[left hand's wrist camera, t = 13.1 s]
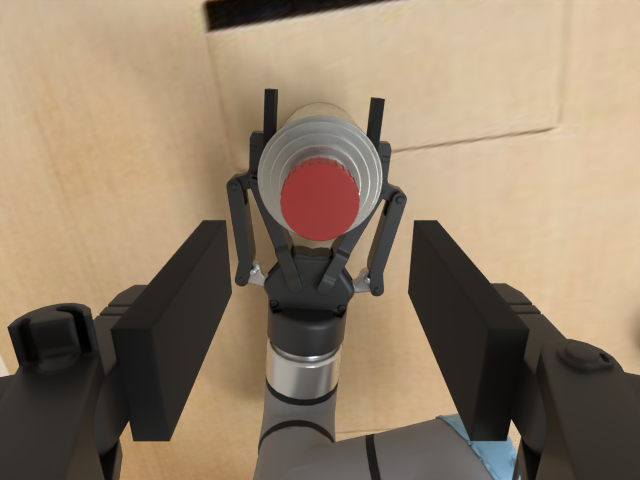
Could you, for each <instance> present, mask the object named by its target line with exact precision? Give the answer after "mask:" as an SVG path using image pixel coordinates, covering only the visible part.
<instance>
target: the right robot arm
mask: <svg viewBox="0 0 640 480" xmlns="http://www.w3.org/2000/svg"><path fill="white" fill-rule="evenodd" d="M277 102H278V89H265V100H264V131H254V132H253V133H252V135H251V137H250V162H249V171H247V172H244V173H241V174H235V175H234V176H233V177H232V178H231V179H230V180H229V181H228V183H227V193H228V199H229V206H230V212H231V218H232V224H233V230H234V236H235V243H236V249H237V255H238V261H239V263H238V268H237V272H236V277H235V282H236V284H237V285H239V286H245V285H247V283H252V284H256V285H260V286H264V289H265V291H266V293H267V295H268V298H269V306H268V330H267V333H268V340H267V353H266V390H265V403H264V415H263V422H262V428H261V433H260V439H259V446H258V459H257V464H256V469H255V473H254V478H253V480H512V476H513V471H514V466H515V462H516V457H517V455H516V451H515V449H514V446H513V444H512V442H511V440H510V438H509V435H508V437H507V441H470V439H469V437H468V435H467V432H466V430H465V427H464V425H463V423H462V420H461V418H460V415H459V414H453V415H446V416H441V415H440V416H438V417H436V418H435V419H433V420H429V421H425V422H421V423H417V424H413V425H409V426H405V427H401V428H397V429H393V430H389V431H385V432H381V433H377V434H370V435H365V436H360V437H356V438H352V439H347V440H343V441H338V442H335V406H336V394H337V386H338V379H339V374H340V365H341V356H342V346H343V345H342V341H343V338H344V331H345V322H346V314H347V306H348V303H349V301H350V299H351V298H352V297H353V295H354V293H361V292H371V293H372V295H374V296H380V295H382V294H383V292H384V284H383V271H384V268H385V265H386V262H387V259H388V256H389V253H390V250H391V247H392V244H393V241H394V238H395V235H396V232H397V229H398V226H399V223H400V220H401V217H402V214H403V211H404V207H405V204H406V201H407V198H406V195H405V194H404V193H403V191H402V190H401V189H400V188H399V187H397V186H394V185H391V184H389V183H388V181H387V177H388V170H389V162H390V156H391V147H390V144H389V143H388V142H387V141H380V133H381V125H382V117H383V110H384V102H385V99H381V98H372V97H371V102H370V111H369V119H368V128H367V137H368V138H369V139H370V141H371V142H372V144H373V145H374V147H375V149H376V151H377V153H378V156H379V159H380V162H381V167H382V187H381V192H380V195H379V198H378V201H377V203H376V205H375V207H374V209H373V210H372V211H371V213H370V214H369V216H368V217H367V218H366V219H365V220H364V221H363V222H362V223H361V224H359V225H358V226H357V227H355V228H354V229H352V230H351V231H349V232H347V233H345V234H342V235H340V236H338V238H337V239H336V240H335V241H334V242H333V244H332V246H331V248H330V250H329V248H322V247H321V248H315V249H311V248H308V247H305V246H296V248H295V246H294V243H293V240H292V238H291V236H290V235H289V232H288V230H287V229H286V228H285V227H283V226H282V225H280V224H279V223H278V222H277V221H276V220H275V219H274V218H273V217H272V215H271V214H270V213H269V212H268V210H267V208H266V207H265V205H264V203H263V201H262V198H261V195H260V192H259V187H258V166H259V162H260V158H261V156H262V153H263V151H264V149H265V147H266V145H267V143H268V142H269V141H270V139H271V138H272V137H273V136H274V135H275V133H276V126H277ZM250 188H251V190H252V193H253V195H254V198H255V200H256V203H257V205H258V208H259V210H260V213H261V215H262V218H263V220H264V223H265V225H266V228H267V230H268V233H269V235H270V238H271V240H272V243H273V245H274V248H275V253H276V257H277V259H278V262H277V263H276V264H275V265H274V266H273V268H272V269H271V270H270V271H269V272H268V273H266V272H264V271H263V270H262V264H261V262H260V261H259V260H256V259H255V255H256V249H255V241H254V234H253V227H252V220H251V213H250V206H249V199H248V192H247V189H250ZM382 199H384V200H386V201H385V204H384V207H383V210H382V213H381V217H380V220H379V223H378V226H377V230H376V233H375V236H374V239H373V242H372V246H371V249H370V252H369V255H368V260H367V268H363V269H362V270H361V271H360V274H359V276H358V278H356V279H352V278H351V276H350V274H349V273H348V271H347V270H346V268H345V267H344V266H345V265H346V263H347V261H348V259H349V256H350V253H351V251H352V250H353V248H354V246H355V245H356V243H357V241H358V240H359V238H360V236H361V235H362V233H363V231H364V229H365V228H366V226H367V224H368V223H369V221H370V219H371V218H372V216H373V214H374V213H375V211H376V209H377V207H378V206H379V204H380V202H381V201H382ZM519 480H521V477H520V476H519Z"/></svg>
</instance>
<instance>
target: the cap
mask: <svg viewBox="0 0 640 480" xmlns="http://www.w3.org/2000/svg"><path fill="white" fill-rule="evenodd" d="M280 195H281V199H280V206H281V212H282V215H283V217H284V220H285V221H286V223H287V224H288V226H289V227H290V228H291V229H292V230H293V231H294V232H295V233H297V234H298V235H300V236H302V237H304V238H307V239H310V240H316V241H324V240H330V239H333V238H336V237H338V236H340V235H342V234H343V233H345V232H346V231H347V230H348V229H349V228H350V227H351V226H352V224H353V223H354V221H355V219H356V217H357V215H358V212H359V205H360V198H359V190H358V187H357V185H356V181H355V178H354V177H352V175H351V173H350V170H347V169H346V168H345V167H344V164H340V163H339V162H337V160H332V159H329V157H327V158H322V157H320V156H318V158H310V159H308V160H305V161H302V162H301V163H300V164H298V165H297V166H296V165H295V167H294V169H293V170H292V171H291V172H289V174H288V177H287V179H286V178H285V181H284V184H283V188H282V190H281V193H280Z"/></svg>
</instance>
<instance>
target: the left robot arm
mask: <svg viewBox="0 0 640 480" xmlns="http://www.w3.org/2000/svg"><path fill="white" fill-rule="evenodd" d="M231 294H232V288H231V276H230V264H229V252H228V240H227V228H226V220H203V221H202V222H201V223H200V225H199V226H198V227H197V228H196V229H195V231H194V232H193V233H192V234H191V235H190V236H189V238H188V239H187V240H186V241H185V242H184V243H183V245H182V246H181V247H180V248H179V249H178V250H177V252H176V253H175V254H174V255H173V256H172V257H171V259H170V260H169V261H168V262H167V263H166V265H165V266H164V267H163V268H162V269H161V270H160V272H159V273H158V274H157V275H156V276H155V277H154V279H153V280H152V281H151V282H150V283H149V284H148V285H134V286H132V287H130V288H128V289H127V290H125V291H123V292H121V293H119V294H118V295H117V296H116V297H115V298H114V299H113V300H112V301H111V302H110V303H109V304H108V307H106V308H105V309H104V310H103V311H102V312H101V313H100V316H97V317H96V318H95V319H94V320H93V318H92V314H91V310H90V308H88V307H87V306H85V305H83V304H77V303H63V304H56V305H51V306H46V307H42V308H39V309H37V310H34V311H31V312H28V313H27V314H25V315H23V316H21V317H19V318H18V319H16V320H15V321H14V322H13V323H11V324H10V325H9V326H8V327H7V328H8V331H9V334H10V337H11V341H12V344H13V347H14V350H15V353H16V357H17V360H18V363H19V368H18V370H17V372H16V373H15V374H14V375H9V376H4V377H0V480H119V478H120V470H121V463H122V449H121V444H120V439H119V437H120V435H121V434H122V432H123V430H124V428H125V427H126V425H127V423H128V421H129V422H130V427H131V432H132V437H133V441H170V439H171V437H172V435H173V432H174V430H175V427H176V425H177V423H178V420H179V418H180V415H181V413H182V411H183V408H184V406H185V404H186V401H187V399H188V396H189V394H190V392H191V389H192V387H193V385H194V382H195V380H196V377H197V375H198V373H199V370H200V368H201V365H202V363H203V361H204V358H205V356H206V354H207V351H208V349H209V346H210V344H211V342H212V339H213V337H214V335H215V332H216V330H217V327H218V325H219V323H220V320H221V318H222V315H223V313H224V311H225V308H226V306H227V304H228V301H229V299H230V296H231ZM408 294H409V296H410V299H411V301H412V304H413V306H414V308H415V311H416V313H417V315H418V318H419V320H420V323H421V325H422V327H423V330H424V332H425V335H426V337H427V339H428V342H429V344H430V346H431V349H432V351H433V354H434V356H435V358H436V361H437V363H438V365H439V368H440V370H441V373H442V375H443V377H444V380H445V382H446V385H447V387H448V389H449V392H450V394H451V396H452V399H453V401H454V404H455V406H456V408H457V411H458V413H459V415H460V418H461V420H462V423H463V425H464V427H465V430H466V432H467V435H468V437H469V439H470V441H507V437H508V432H509V427H510V422H511V419H512V421H513V423H514V424H515V426H516V428H517V430H518V431H519V433H520V435H521V439H520V444H519V448H518V453H517V457H516V462H515V466H514V471H513V476H512V480H519V476H520V477H521V480H640V375H636V374H630V373H626V372H624V371H623V369H622V367H621V365H620V364H619V363H618V362H617V361H616V360H615V359H614V357H612V356H611V355H609V354H608V353H606V352H605V351H603V350H602V349H600V348H597V347H595V346H593V345H590V344H588V343H585V342H581V341H577V340H573V339H566V338H565V337H564V336H563V335H562V334H561V333H560V332H559V331H558V330H557V328H556V327H555V326H554V325H553V324H552V323H551V322H550V321H549V320H548V319H547V318H546V317H545V316H544V315H543V314H541V312H540V311H539V310H538V309H537V308H536V307H535V306H534V305H532V303H531V302H530V301H529V299H528V298H527V297H526V296H525V295H524V294H523V293H522V292H520V291H518V290H516V289H514V288H513V287H511V286H509V285H507V284H505V283H490V282H489V281H488V280H487V279H486V277H485V276H484V275H483V274H482V273H481V272H480V270H479V269H478V268H477V267H476V266H475V265H474V263H473V262H472V261H471V260H470V259H469V257H468V256H467V255H466V254H465V253H464V252H463V250H462V249H461V248H460V247H459V246H458V245H457V243H456V242H455V241H454V240H453V239H452V238H451V236H450V235H449V234H448V233H447V232H446V231H445V229H444V228H443V227H442V226H441V225H440V223H439V222H438V221H437V220H414V228H413V240H412V252H411V264H410V276H409V288H408Z"/></svg>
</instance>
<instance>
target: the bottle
mask: <svg viewBox="0 0 640 480" xmlns="http://www.w3.org/2000/svg"><path fill="white" fill-rule="evenodd" d="M318 156H320V157H322V158H327V157H329V159H332V160H337V162H339V163H340V164H344V167H345V168H346V169H347V170H350V173H351V175H352V177H354V178H355V181H356V185H357V187H358V190H359V198H360V205H359V212H358V215H357V217H356V219H355V221H354V223H353V224H352V226H351V227H350V228H349V229H348V230H347V231H346V232H345V233H347V232H349V231H351V230H352V229H354V228H355V227H357V226H358V225H359V224H361V223H362V222H363V221H364V220H365V219H366V218H367V217H368V216H369V214H370V213H371V211H372V210H373V209H374V207H375V205H376V203H377V201H378V198H379V195H380V192H381V187H382V167H381V162H380V159H379V156H378V153H377V151H376V149H375V147H374V145H373V144H372V142H371V141H370V139H369V138H368V137H367V136H366V135H365V134H364V132H363V131H362V130H361V129H360V128H359V127H358V126H357V125H356V123H355V122H354V121H353V120H352V119H351V118H350V117H349V116H348V114H347V113H345V112H344V111H343V110H341V109H340V108H338V107H336V106H334V105H331V104H326V103H313V104H309V105H306V106H304V107H302V108H300V109H298V110H297V111H296V112H295V113H293V115H292V116H291V117H290V118H289V119H288V120H287V121H286V122H285V123H284V124H283V126H282V127H281V128H280V129H279V130H278V131H277V132H276V133H275V135H274V136H273V137H272V138H271V139H270V141H269V142H268V143H267V145H266V147H265V149H264V151H263V153H262V156H261V158H260V162H259V166H258V187H259V192H260V195H261V198H262V201H263V203H264V205H265V207H266V208H267V210H268V212H269V213H270V214H271V215H272V217H273V218H274V219H275V220H276V221H277V222H278V223H279V224H280V225H282V226H283V227H285V228H286V229H288V230H289V231H291V232H293V233H295V232H294V231H293V230H292V229H291V228H290V227H289V226H288V224H287V223H286V221H285V220H284V217H283V215H282V212H281V206H280V199H281V195H280V193H281V190H282V188H283V184H284V181H285V178H286V179H287V177H288V174H289V172H291V171H292V170H293V169H294V167H295V165H296V166H297V165H298V164H300V163H301V162H302V161H305V160H308V159H310V158H318ZM345 233H343V234H345ZM296 234H297V233H296Z"/></svg>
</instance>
